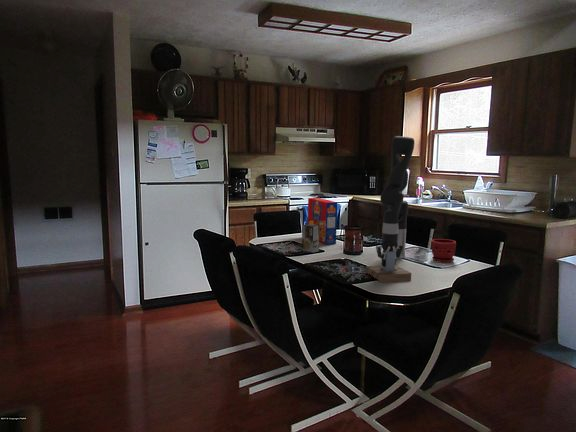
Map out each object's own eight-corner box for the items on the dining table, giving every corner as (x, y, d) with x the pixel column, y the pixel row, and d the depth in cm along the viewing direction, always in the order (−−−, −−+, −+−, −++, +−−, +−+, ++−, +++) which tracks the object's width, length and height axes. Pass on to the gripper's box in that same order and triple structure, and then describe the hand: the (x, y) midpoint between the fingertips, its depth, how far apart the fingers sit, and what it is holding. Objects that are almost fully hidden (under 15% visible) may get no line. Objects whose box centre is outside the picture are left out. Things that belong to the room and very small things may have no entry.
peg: (381, 273, 207) (383, 249, 205) (389, 272, 208) (391, 249, 206) (386, 276, 203) (387, 252, 201) (394, 275, 204) (395, 251, 202)
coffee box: (319, 251, 256) (320, 225, 253) (312, 252, 251) (313, 226, 249) (307, 248, 262) (308, 223, 259) (301, 250, 257) (301, 224, 255)
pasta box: (307, 236, 299) (308, 198, 295) (317, 236, 302) (318, 197, 298) (325, 244, 273) (326, 202, 269) (335, 244, 276) (337, 202, 272)
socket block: (365, 272, 211) (366, 266, 211) (394, 270, 215) (394, 264, 215) (380, 282, 196) (381, 275, 195) (411, 280, 200) (411, 273, 200)
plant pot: (457, 260, 238) (458, 240, 236) (451, 265, 227) (453, 244, 226) (433, 257, 245) (435, 237, 244) (427, 261, 235) (428, 240, 233)
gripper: (399, 230, 208) (397, 263, 210) (373, 231, 204) (371, 264, 207) (407, 232, 201) (405, 267, 203) (380, 234, 197) (378, 269, 200)
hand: (388, 265), depth 205 cm, fingers closed on peg, 4 cm apart
